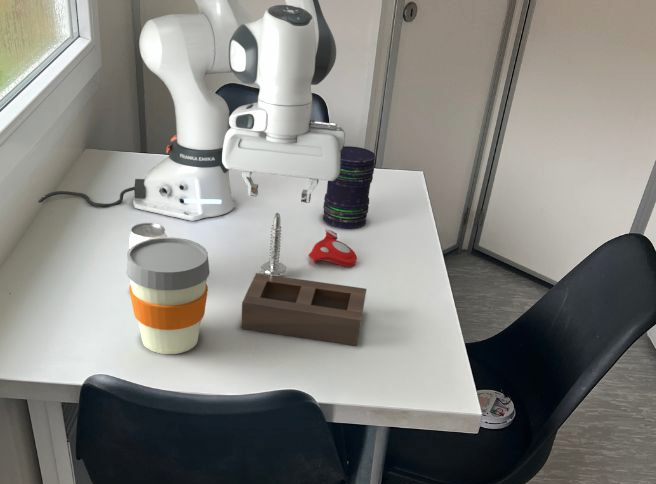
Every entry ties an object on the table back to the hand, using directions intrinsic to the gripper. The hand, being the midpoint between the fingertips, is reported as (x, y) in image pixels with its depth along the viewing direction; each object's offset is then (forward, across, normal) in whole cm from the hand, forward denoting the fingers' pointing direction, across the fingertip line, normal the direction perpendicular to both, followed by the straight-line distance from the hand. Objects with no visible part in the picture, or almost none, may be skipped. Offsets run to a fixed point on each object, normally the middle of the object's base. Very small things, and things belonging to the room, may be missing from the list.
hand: (279, 198), depth 128 cm
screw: (+16, 0, 0) cm, 16 cm away
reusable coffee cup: (+16, +12, +26) cm, 33 cm away
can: (+16, +20, +12) cm, 28 cm away
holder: (+16, -8, +14) cm, 22 cm away
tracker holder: (+16, -10, -13) cm, 23 cm away
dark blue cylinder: (+16, -10, -32) cm, 37 cm away
